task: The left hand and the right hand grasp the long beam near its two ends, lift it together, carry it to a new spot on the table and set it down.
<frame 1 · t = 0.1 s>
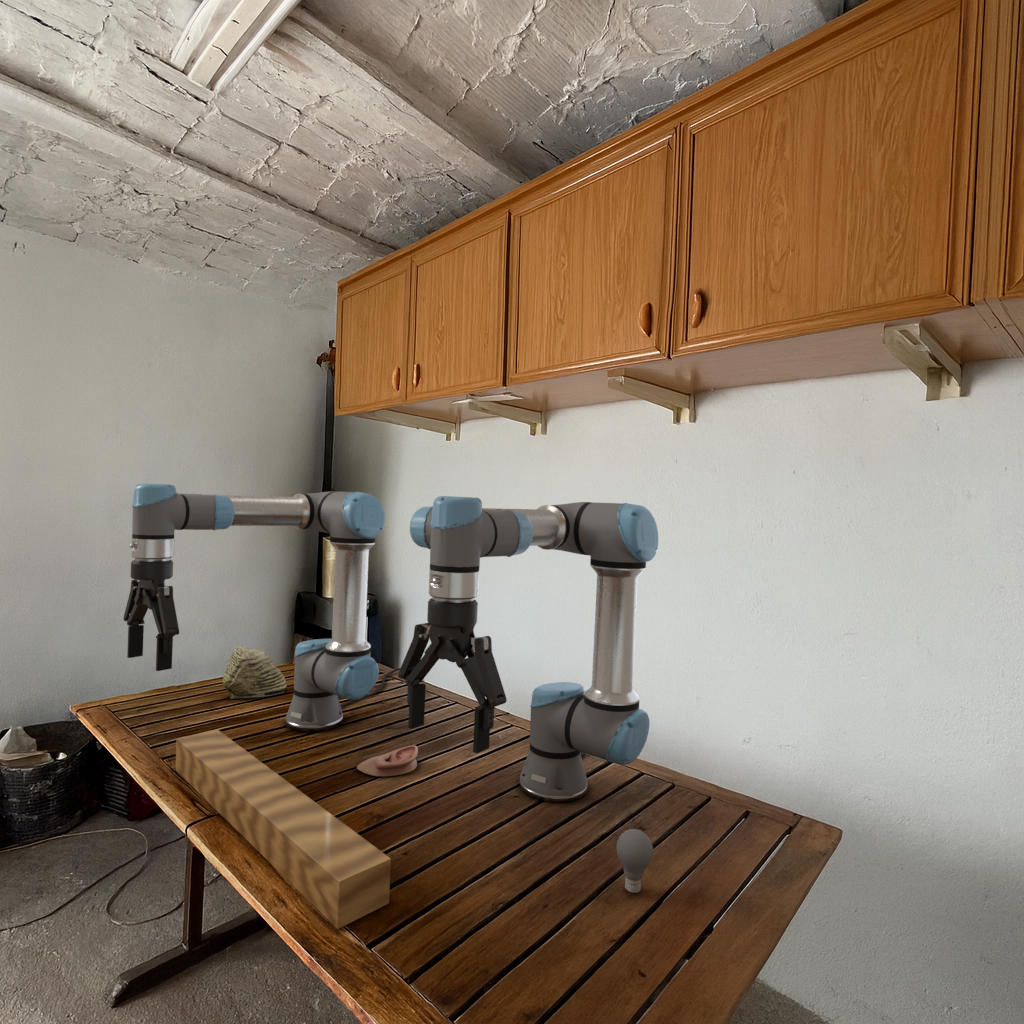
left hand: (148, 663, 129), 28 cm above the table, tool pointing down, fingers open, 13 cm apart
right hand: (447, 738, 96), 28 cm above the table, tool pointing down, fingers open, 13 cm apart
fossil: (254, 694, 198), on the table
light bulb: (632, 891, 106), on the table
anatomical model: (387, 767, 149), on the table
long beam: (263, 824, 122), on the table
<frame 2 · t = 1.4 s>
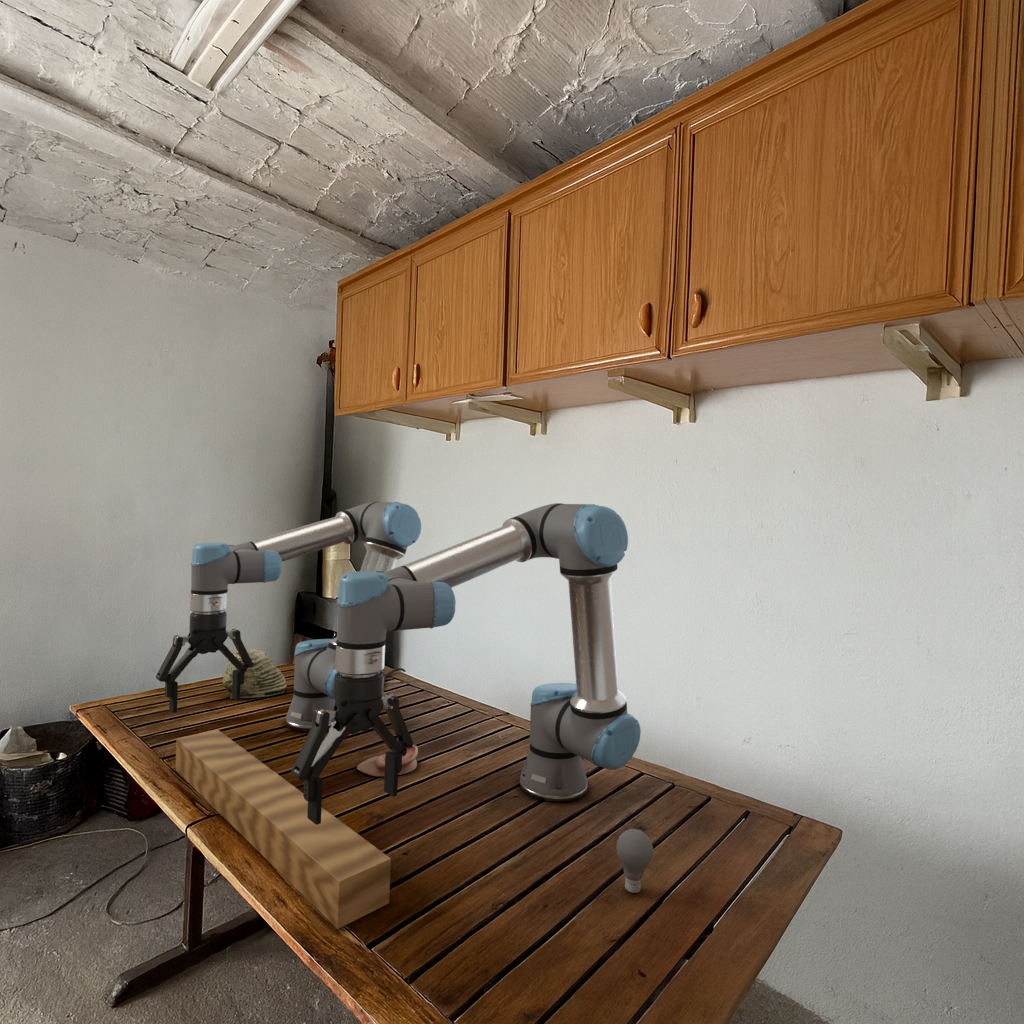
left hand: (205, 705, 143), 15 cm above the table, tool pointing down, fingers open, 13 cm apart
right hand: (354, 806, 99), 15 cm above the table, tool pointing down, fingers open, 13 cm apart
nothing on the table moved.
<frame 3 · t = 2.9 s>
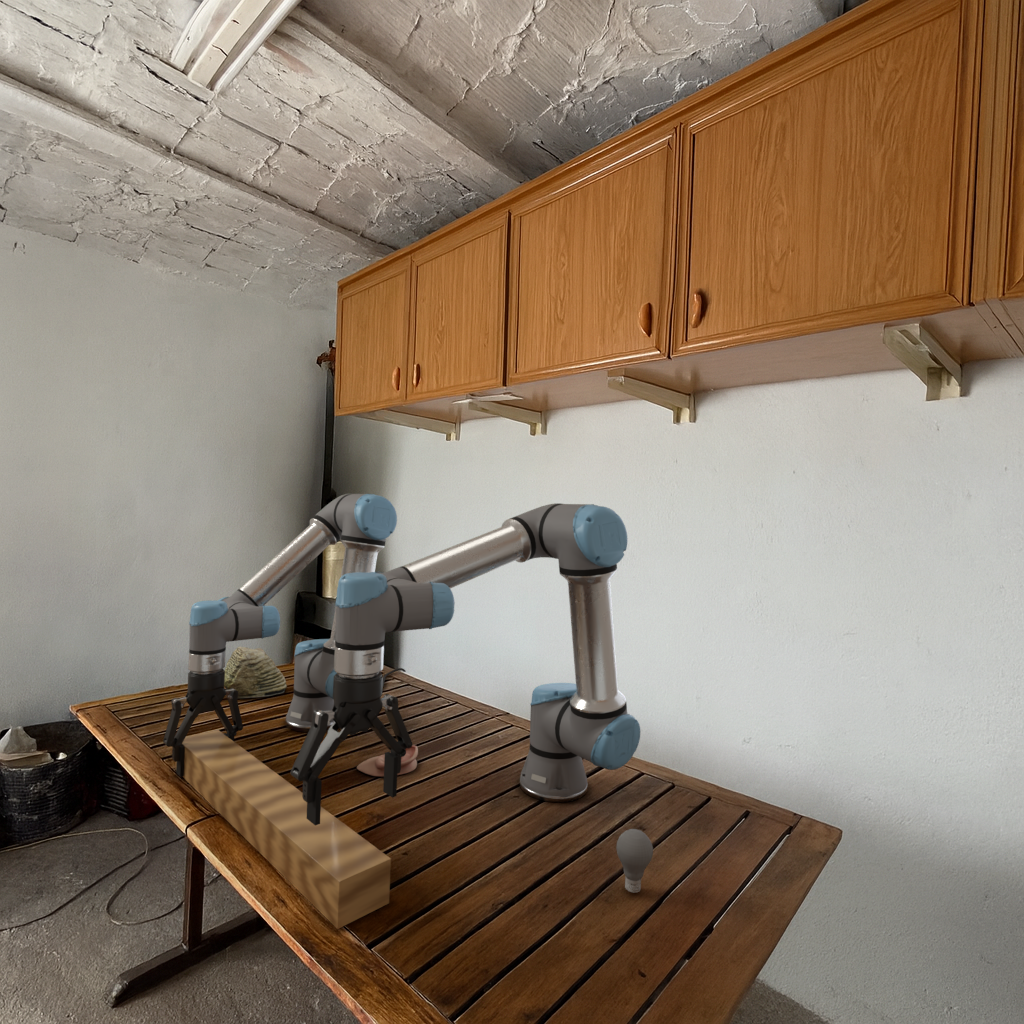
left hand: (203, 768, 144), 1 cm above the table, tool pointing down, fingers closed on long beam, 9 cm apart
right hand: (353, 807, 99), 15 cm above the table, tool pointing down, fingers open, 13 cm apart
long beam: (263, 824, 122), on the table, touching left hand
everything else where it was.
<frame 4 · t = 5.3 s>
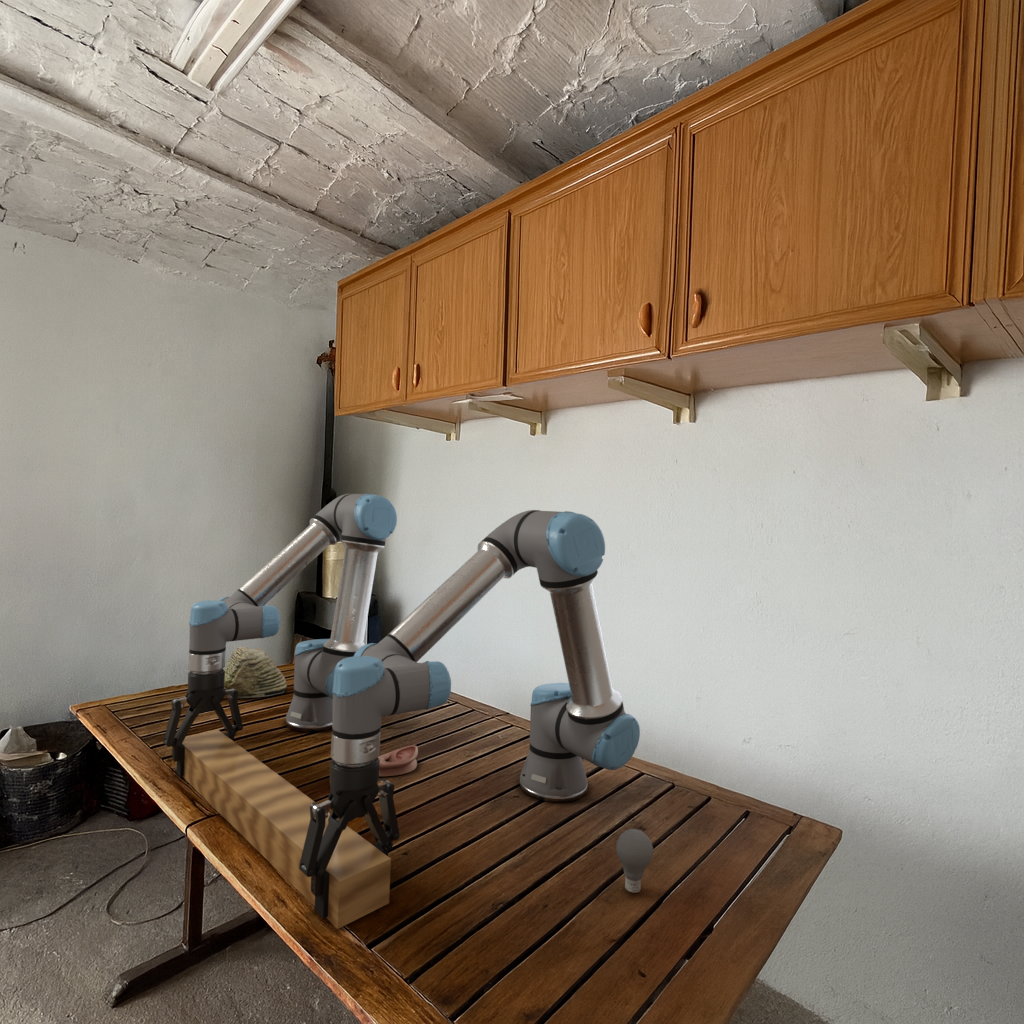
left hand: (203, 768, 144), 1 cm above the table, tool pointing down, fingers closed on long beam, 9 cm apart
right hand: (349, 899, 100), 1 cm above the table, tool pointing down, fingers closed on long beam, 9 cm apart
long beam: (263, 824, 122), on the table, touching left hand, right hand
everything else where it was.
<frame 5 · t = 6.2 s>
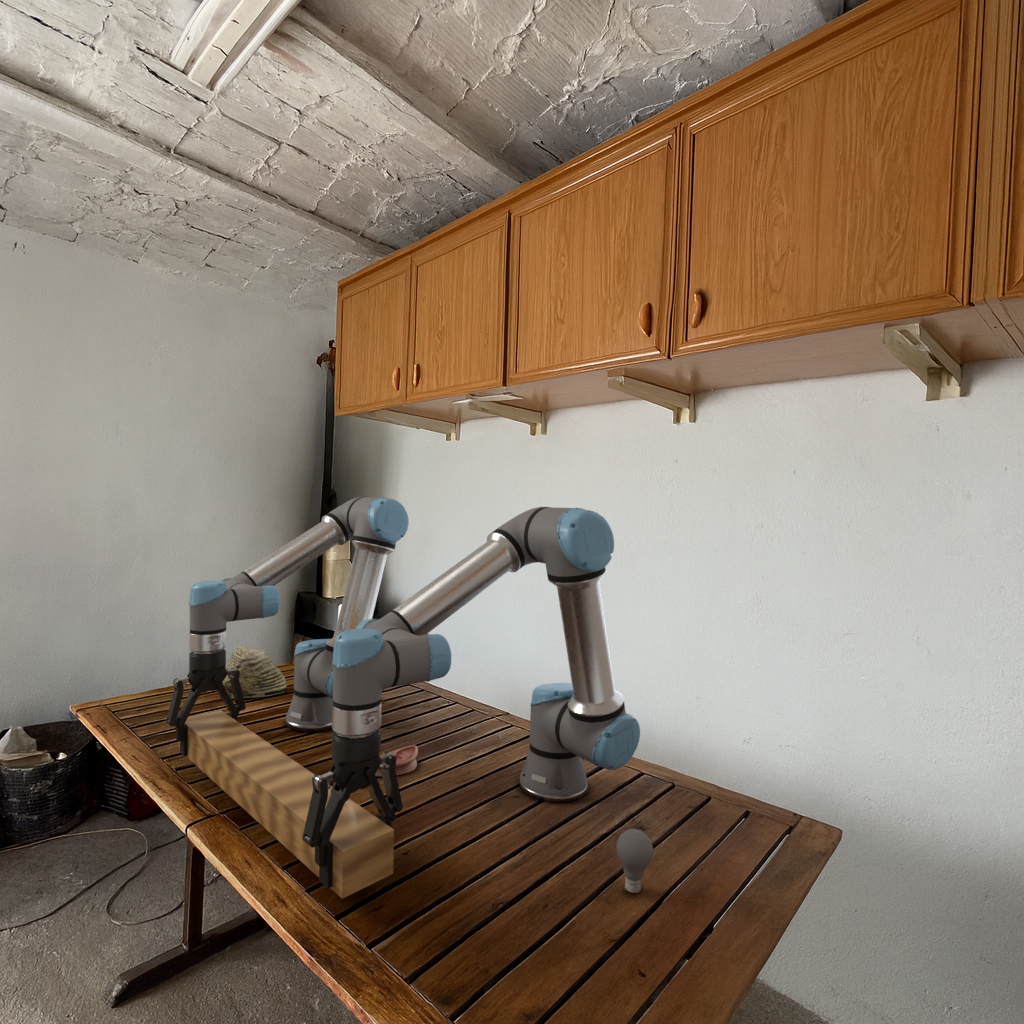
left hand: (206, 747, 144), 5 cm above the table, tool pointing down, fingers closed on long beam, 9 cm apart
right hand: (354, 870, 100), 5 cm above the table, tool pointing down, fingers closed on long beam, 9 cm apart
long beam: (267, 800, 122), point 4 cm above the table, touching left hand, right hand
everything else where it was.
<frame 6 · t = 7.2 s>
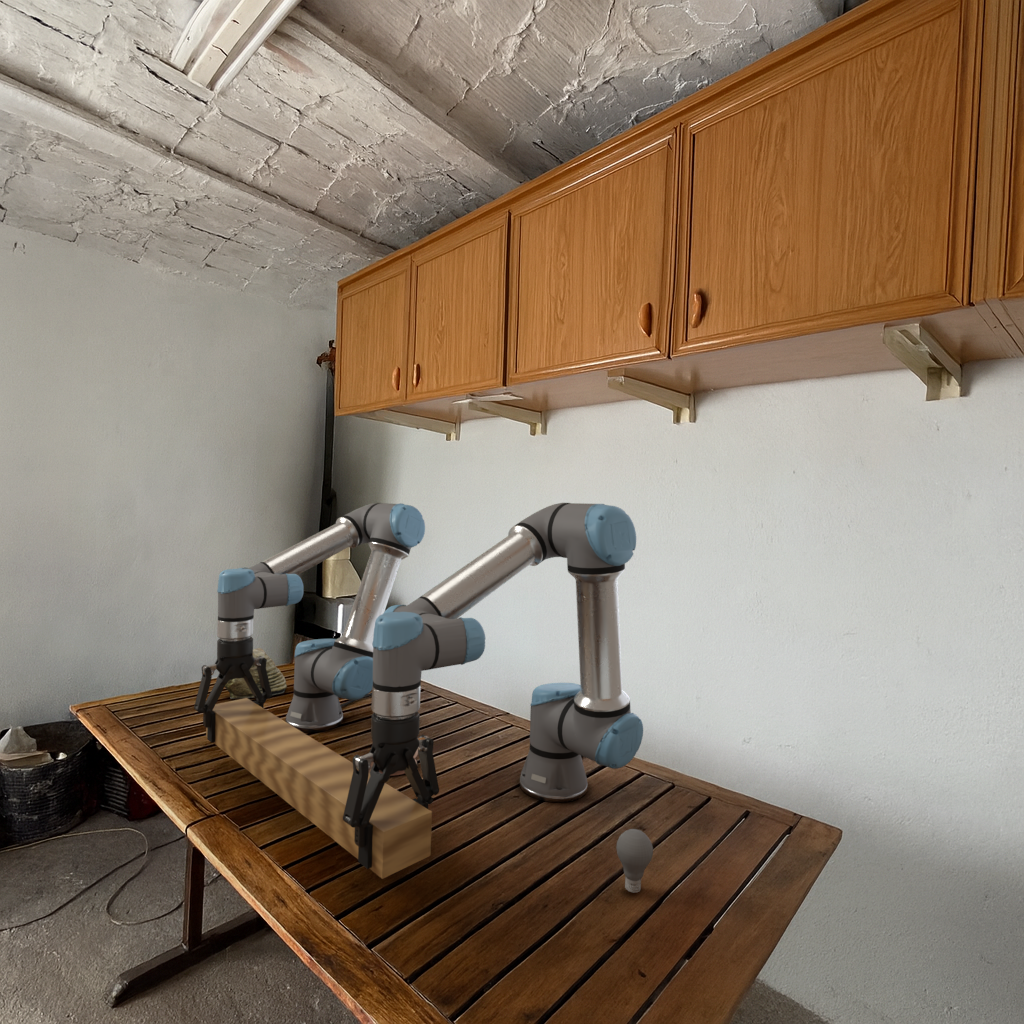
left hand: (233, 735, 145), 8 cm above the table, tool pointing down, fingers closed on long beam, 9 cm apart
right hand: (392, 852, 100), 8 cm above the table, tool pointing down, fingers closed on long beam, 9 cm apart
long beam: (298, 785, 122), point 7 cm above the table, touching left hand, right hand
everything else where it was.
when the left hand's fingers open (2 cm above the table, at t = 9.6 s): long beam stays where it is, on the table.
when the right hand's fingers open (1 cm above the table, at t = 9.6 s): long beam stays where it is, on the table.
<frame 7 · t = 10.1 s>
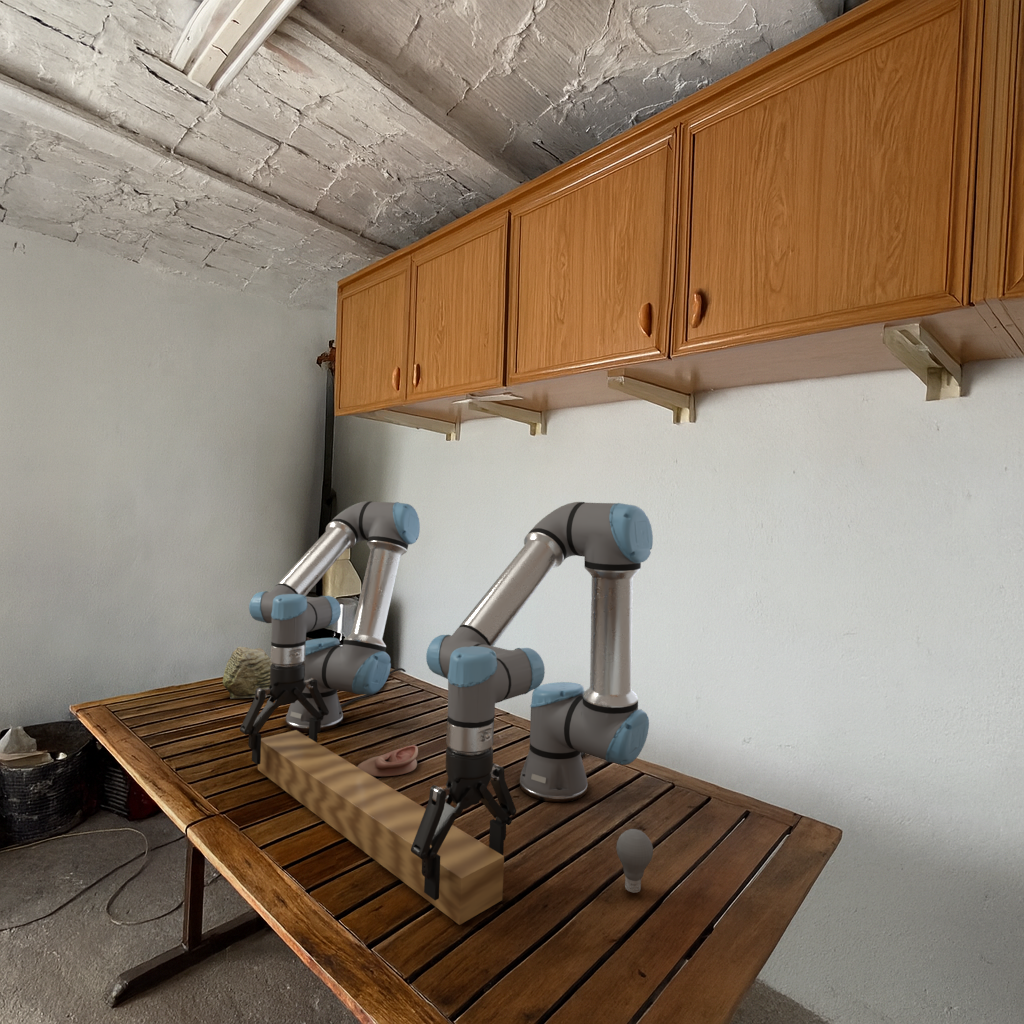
left hand: (285, 754, 146), 4 cm above the table, tool pointing down, fingers open, 13 cm apart
right hand: (465, 877, 101), 4 cm above the table, tool pointing down, fingers open, 13 cm apart
long beam: (358, 823, 124), on the table
everything else where it was.
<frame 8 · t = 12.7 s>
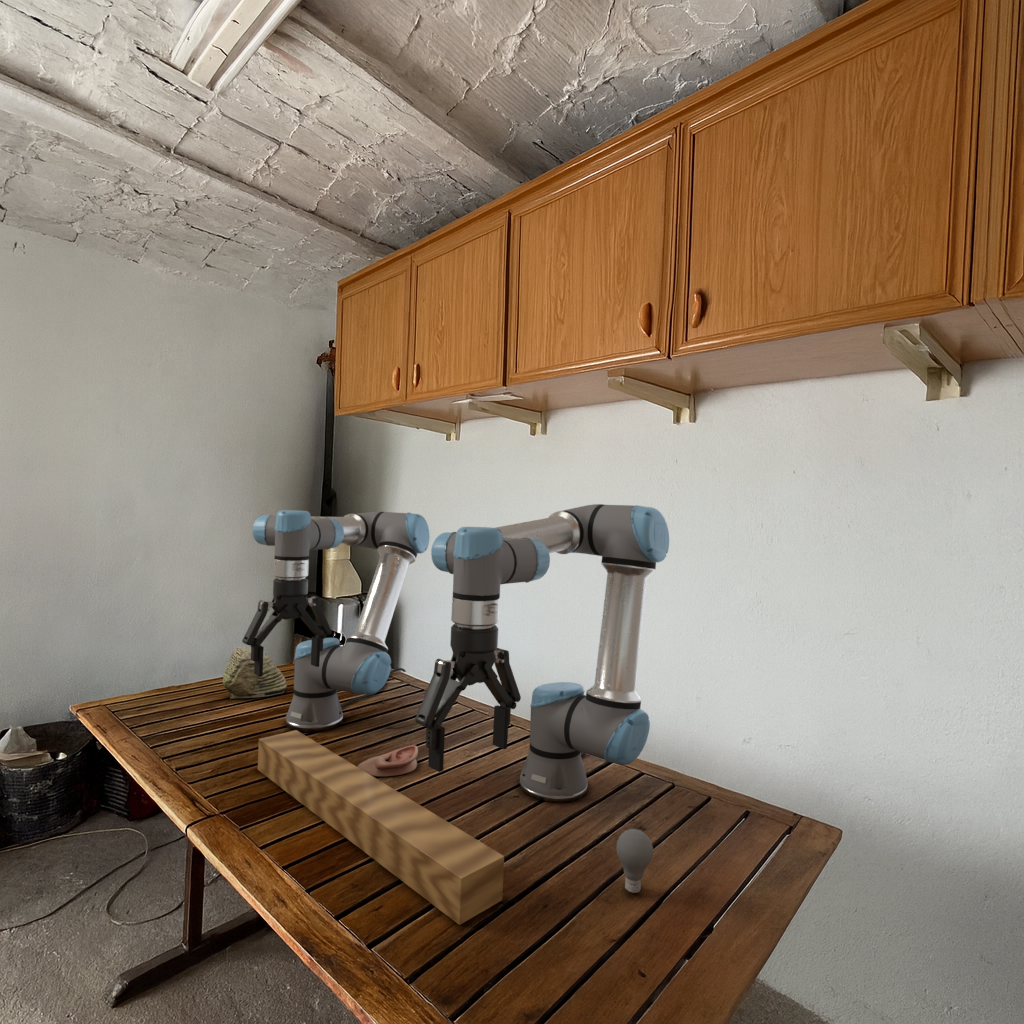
left hand: (287, 670, 145), 23 cm above the table, tool pointing down, fingers open, 13 cm apart
right hand: (469, 757, 101), 23 cm above the table, tool pointing down, fingers open, 13 cm apart
nothing on the table moved.
at the end: long beam inside the target area (0.2 cm from its centre), on the table; long beam tilted 0°; long beam never tilted more than 2° during the clip; both hands held the long beam at the same time; the left hand is holding nothing; the right hand is holding nothing; long beam at rest at the end (0.0 cm/s) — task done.
